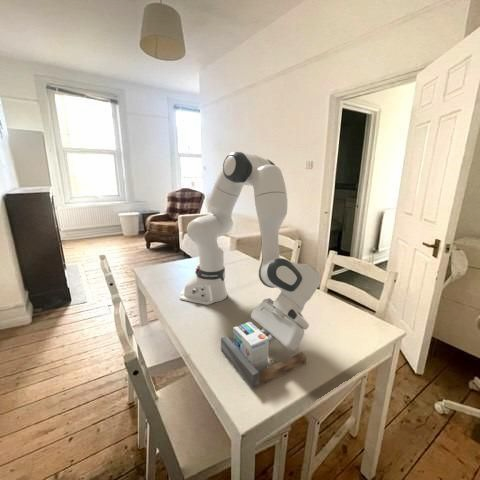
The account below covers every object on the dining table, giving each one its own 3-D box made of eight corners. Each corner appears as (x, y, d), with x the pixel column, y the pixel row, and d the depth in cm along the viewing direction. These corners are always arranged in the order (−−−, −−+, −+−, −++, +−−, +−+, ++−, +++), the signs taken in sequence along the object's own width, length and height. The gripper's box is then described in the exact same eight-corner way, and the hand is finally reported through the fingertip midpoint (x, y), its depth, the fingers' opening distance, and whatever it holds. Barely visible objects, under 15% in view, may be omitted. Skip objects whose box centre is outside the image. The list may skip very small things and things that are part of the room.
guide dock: (268, 332, 100) (269, 320, 98) (305, 363, 84) (306, 350, 83) (221, 350, 90) (220, 337, 88) (252, 390, 74) (252, 375, 73)
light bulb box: (232, 355, 87) (232, 326, 84) (249, 348, 91) (249, 320, 88) (250, 377, 78) (250, 345, 76) (268, 368, 82) (269, 338, 79)
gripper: (261, 292, 94) (238, 324, 92) (303, 319, 77) (275, 360, 75) (271, 300, 98) (248, 332, 95) (313, 328, 81) (286, 367, 78)
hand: (260, 344), depth 85 cm, fingers closed, pressing on light bulb box
